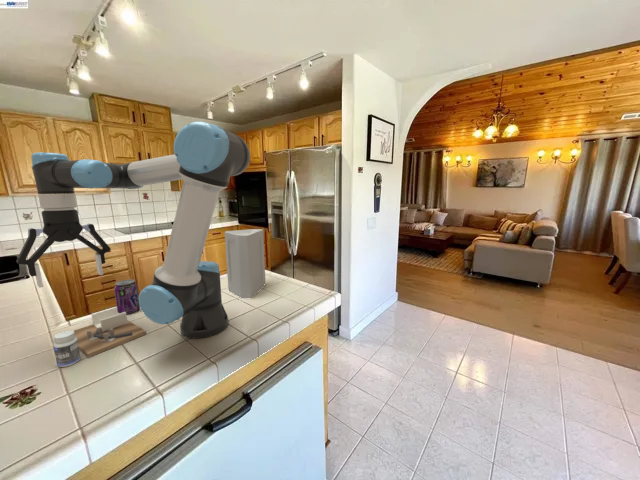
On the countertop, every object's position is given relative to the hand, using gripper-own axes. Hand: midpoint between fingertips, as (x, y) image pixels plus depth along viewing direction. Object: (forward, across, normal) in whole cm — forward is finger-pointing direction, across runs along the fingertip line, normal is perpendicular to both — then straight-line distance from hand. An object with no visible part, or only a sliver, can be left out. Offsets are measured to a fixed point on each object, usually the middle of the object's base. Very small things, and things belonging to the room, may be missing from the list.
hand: (72, 280), depth 80 cm
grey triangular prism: (+20, -57, +7) cm, 61 cm away
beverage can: (+20, -16, -12) cm, 28 cm away
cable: (+19, -6, +6) cm, 20 cm away
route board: (+20, -5, +3) cm, 21 cm away
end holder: (+19, -8, -2) cm, 20 cm away
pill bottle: (+20, +6, +11) cm, 24 cm away
